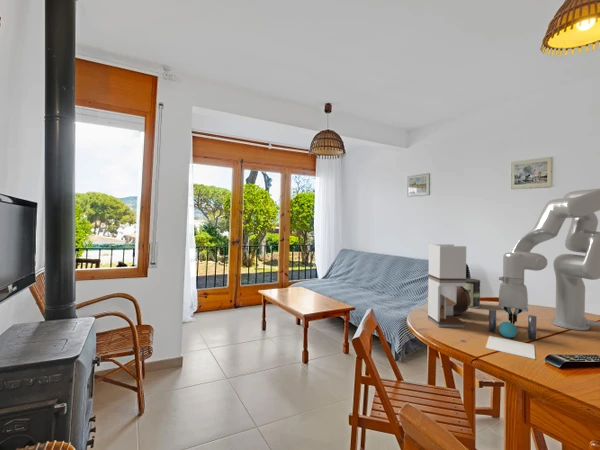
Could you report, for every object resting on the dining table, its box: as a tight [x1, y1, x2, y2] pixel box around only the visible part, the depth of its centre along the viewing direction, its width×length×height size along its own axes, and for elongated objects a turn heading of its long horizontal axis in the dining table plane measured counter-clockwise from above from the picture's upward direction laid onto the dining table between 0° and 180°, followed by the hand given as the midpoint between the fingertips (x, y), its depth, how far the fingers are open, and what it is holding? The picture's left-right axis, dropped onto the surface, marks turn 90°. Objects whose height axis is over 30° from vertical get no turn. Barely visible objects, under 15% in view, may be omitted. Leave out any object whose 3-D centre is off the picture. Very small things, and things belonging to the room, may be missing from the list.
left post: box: [488, 308, 497, 333], centre depth 123 cm, size 2×2×9 cm
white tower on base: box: [427, 243, 467, 328], centre depth 132 cm, size 11×11×35 cm
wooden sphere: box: [453, 286, 471, 316], centre depth 146 cm, size 15×15×15 cm
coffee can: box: [462, 277, 481, 309], centre depth 161 cm, size 10×10×14 cm
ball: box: [498, 321, 518, 339], centre depth 117 cm, size 6×6×6 cm
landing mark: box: [485, 335, 536, 360], centre depth 108 cm, size 14×14×1 cm
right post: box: [527, 314, 538, 341], centre depth 115 cm, size 2×2×9 cm
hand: (512, 322), depth 129 cm, fingers closed
